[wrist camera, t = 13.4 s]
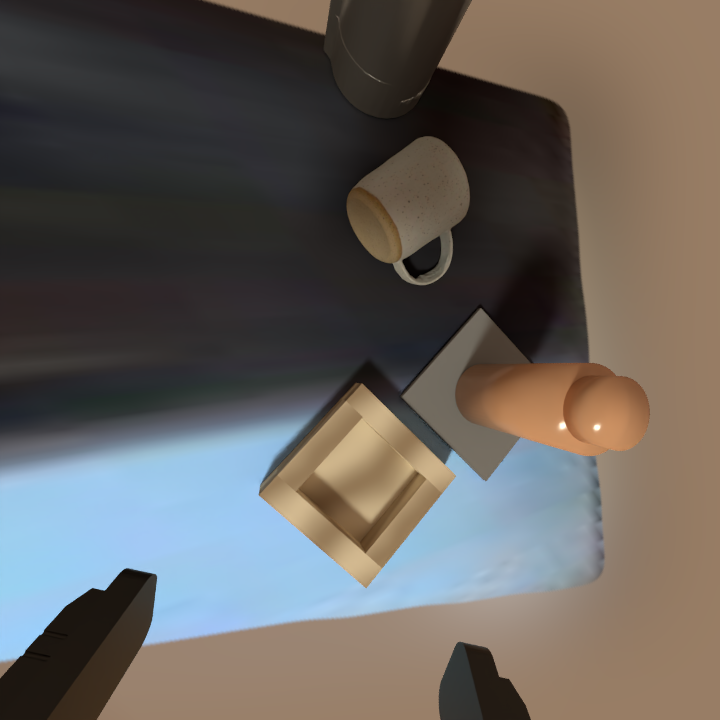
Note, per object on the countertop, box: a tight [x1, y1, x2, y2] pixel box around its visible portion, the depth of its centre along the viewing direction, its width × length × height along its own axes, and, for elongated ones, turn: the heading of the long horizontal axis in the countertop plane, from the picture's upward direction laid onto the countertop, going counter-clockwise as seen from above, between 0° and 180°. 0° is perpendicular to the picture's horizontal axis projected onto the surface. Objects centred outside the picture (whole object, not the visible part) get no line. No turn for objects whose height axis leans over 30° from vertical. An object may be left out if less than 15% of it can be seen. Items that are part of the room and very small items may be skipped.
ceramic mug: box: [347, 136, 470, 285], centre depth 30 cm, size 11×8×8 cm
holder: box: [259, 383, 456, 588], centre depth 31 cm, size 12×12×2 cm
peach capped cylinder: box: [455, 363, 650, 456], centre depth 28 cm, size 7×6×14 cm
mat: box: [400, 308, 530, 481], centre depth 35 cm, size 12×12×1 cm
